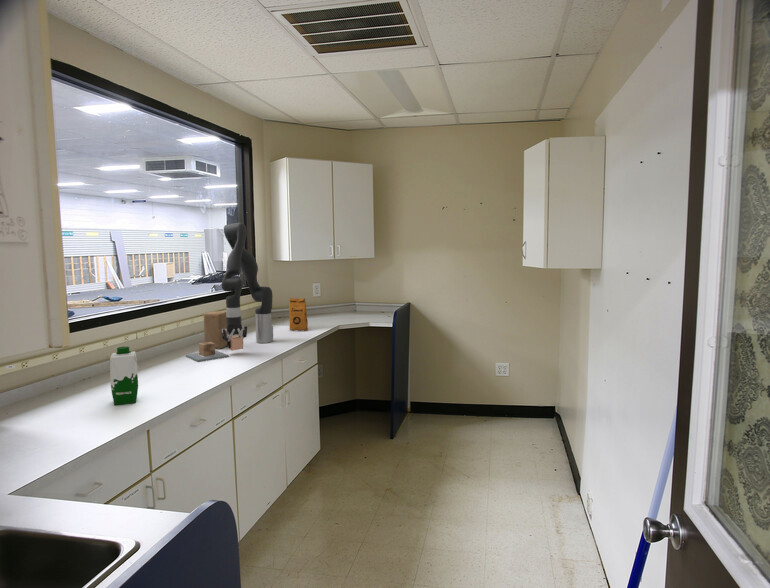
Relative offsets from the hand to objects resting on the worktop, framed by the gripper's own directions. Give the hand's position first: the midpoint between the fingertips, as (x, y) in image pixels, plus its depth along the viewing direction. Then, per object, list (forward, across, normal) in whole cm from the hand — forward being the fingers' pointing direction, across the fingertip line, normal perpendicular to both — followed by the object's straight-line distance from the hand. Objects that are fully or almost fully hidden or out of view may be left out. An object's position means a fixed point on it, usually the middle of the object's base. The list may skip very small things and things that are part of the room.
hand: (235, 346), depth 259 cm
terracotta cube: (+1, 0, 0) cm, 1 cm away
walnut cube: (+3, +14, -4) cm, 15 cm away
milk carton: (+3, +66, +46) cm, 81 cm away
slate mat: (+4, +14, -4) cm, 15 cm away
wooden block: (+4, -1, -24) cm, 25 cm away
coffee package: (+5, -65, -38) cm, 76 cm away
